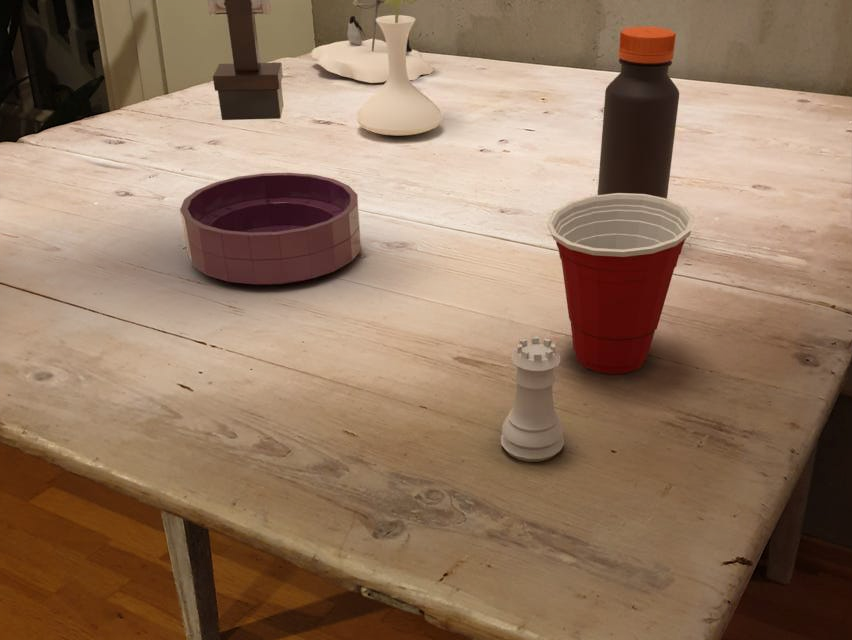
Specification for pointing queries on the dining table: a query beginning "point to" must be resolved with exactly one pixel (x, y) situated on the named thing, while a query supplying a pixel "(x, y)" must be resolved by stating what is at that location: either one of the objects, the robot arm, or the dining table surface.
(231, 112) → the brush
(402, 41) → the flower in vase
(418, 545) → the dining table surface
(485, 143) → the dining table surface
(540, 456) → the rook chess piece
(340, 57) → the figurine
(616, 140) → the bottle
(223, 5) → the robot arm
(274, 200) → the bowl
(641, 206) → the plastic cup
